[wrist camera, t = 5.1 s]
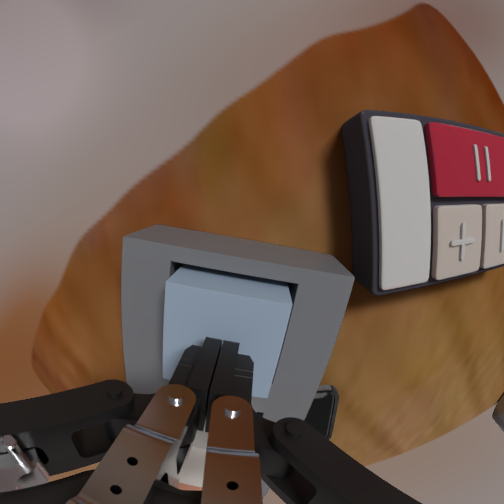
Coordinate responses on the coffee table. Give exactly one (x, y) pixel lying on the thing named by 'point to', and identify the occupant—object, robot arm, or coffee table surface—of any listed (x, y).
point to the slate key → (226, 317)
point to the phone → (323, 410)
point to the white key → (196, 461)
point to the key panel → (242, 262)
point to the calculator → (422, 199)
